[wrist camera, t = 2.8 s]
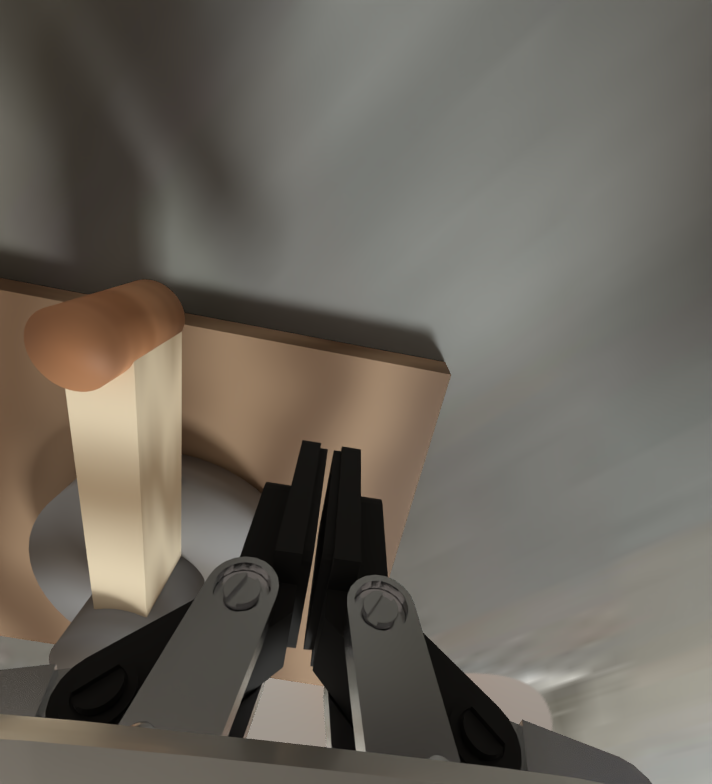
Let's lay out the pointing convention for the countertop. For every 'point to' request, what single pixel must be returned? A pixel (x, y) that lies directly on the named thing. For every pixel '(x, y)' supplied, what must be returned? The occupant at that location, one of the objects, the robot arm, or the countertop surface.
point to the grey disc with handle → (126, 472)
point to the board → (217, 433)
